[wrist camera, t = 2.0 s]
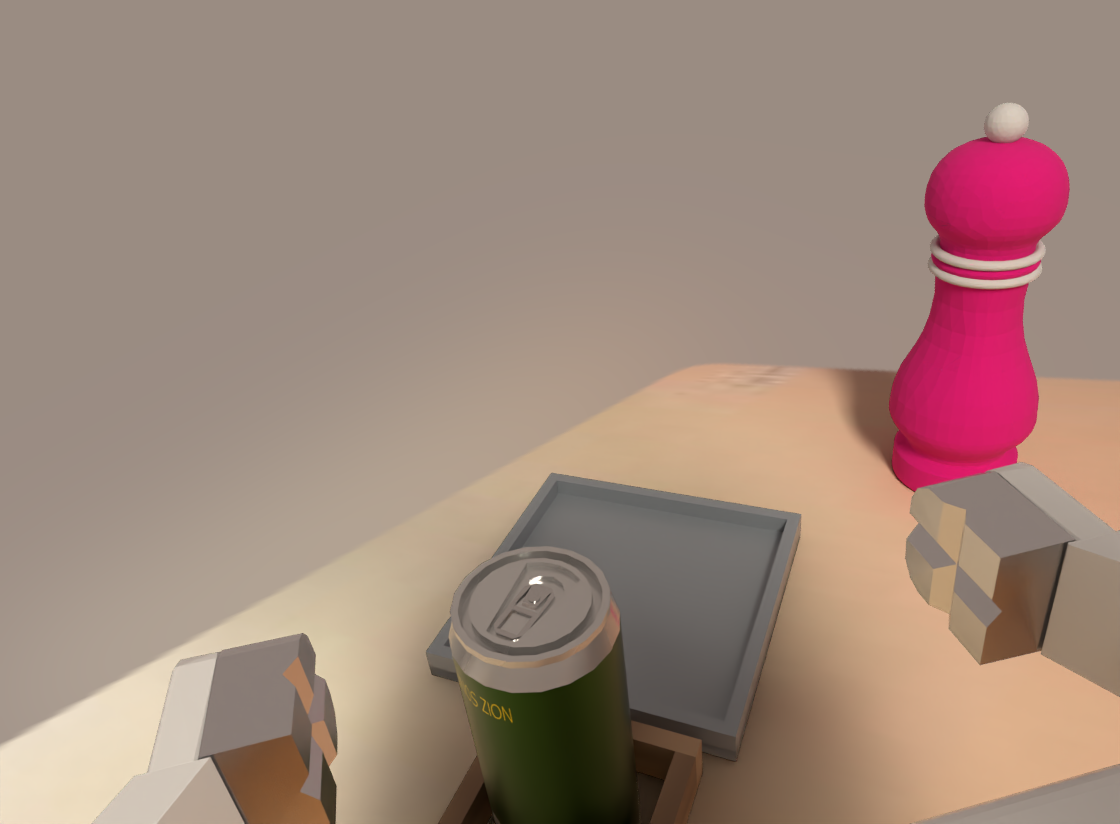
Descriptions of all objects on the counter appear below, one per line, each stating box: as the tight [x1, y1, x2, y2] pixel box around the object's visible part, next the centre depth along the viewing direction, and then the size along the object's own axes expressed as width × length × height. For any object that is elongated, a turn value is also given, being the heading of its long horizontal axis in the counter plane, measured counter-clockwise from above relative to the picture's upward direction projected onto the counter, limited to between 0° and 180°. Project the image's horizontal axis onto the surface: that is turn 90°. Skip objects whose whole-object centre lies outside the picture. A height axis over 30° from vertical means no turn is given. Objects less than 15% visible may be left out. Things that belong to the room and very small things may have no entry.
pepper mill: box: [889, 103, 1070, 491], centre depth 43 cm, size 7×7×20 cm
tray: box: [426, 473, 801, 761], centre depth 42 cm, size 14×14×2 cm
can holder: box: [438, 720, 703, 824], centre depth 32 cm, size 8×8×2 cm
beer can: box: [448, 546, 640, 824], centre depth 29 cm, size 5×5×12 cm
